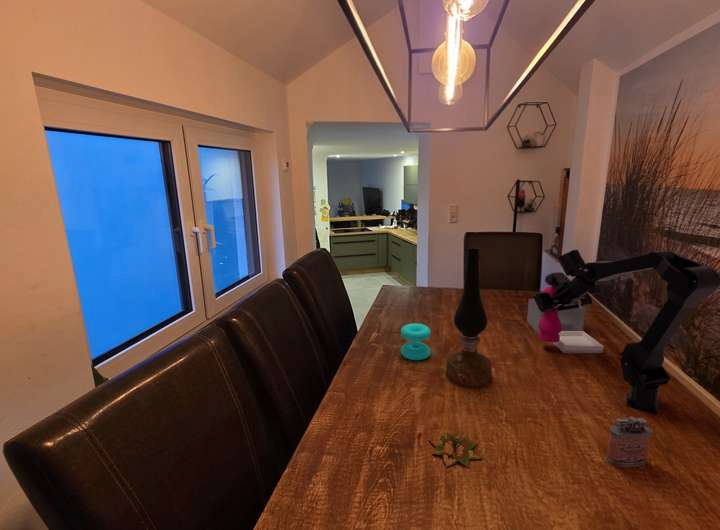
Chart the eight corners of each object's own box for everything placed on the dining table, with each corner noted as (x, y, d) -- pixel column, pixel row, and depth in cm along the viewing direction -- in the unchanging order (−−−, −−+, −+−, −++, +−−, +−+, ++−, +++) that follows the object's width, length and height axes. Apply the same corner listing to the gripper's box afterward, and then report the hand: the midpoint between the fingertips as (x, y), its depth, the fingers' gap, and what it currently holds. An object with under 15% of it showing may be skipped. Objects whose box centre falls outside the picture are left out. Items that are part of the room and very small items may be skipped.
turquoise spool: (434, 332, 120) (403, 334, 119) (433, 360, 122) (404, 362, 122) (426, 321, 130) (398, 323, 129) (426, 347, 132) (398, 349, 131)
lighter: (638, 453, 79) (645, 412, 77) (650, 465, 76) (658, 423, 74) (601, 455, 79) (607, 414, 77) (612, 467, 76) (618, 425, 74)
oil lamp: (461, 371, 122) (453, 250, 122) (505, 379, 111) (497, 247, 111) (436, 382, 113) (428, 251, 112) (482, 393, 101) (473, 248, 101)
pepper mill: (561, 344, 122) (565, 285, 119) (537, 341, 126) (540, 283, 122) (561, 337, 129) (565, 281, 125) (538, 334, 132) (541, 279, 129)
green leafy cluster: (442, 477, 75) (442, 458, 74) (418, 439, 87) (419, 422, 86) (494, 465, 78) (495, 446, 77) (465, 429, 89) (465, 412, 88)
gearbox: (582, 333, 140) (586, 300, 137) (539, 333, 140) (541, 301, 138) (566, 321, 151) (570, 291, 148) (526, 322, 152) (529, 291, 149)
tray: (602, 353, 124) (603, 346, 123) (564, 353, 125) (564, 346, 124) (582, 337, 136) (583, 331, 136) (547, 337, 137) (548, 331, 136)
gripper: (588, 264, 120) (560, 288, 133) (539, 269, 116) (515, 293, 129) (607, 294, 115) (575, 315, 127) (555, 300, 110) (528, 322, 123)
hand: (548, 310), depth 127 cm, fingers closed on pepper mill, 5 cm apart
